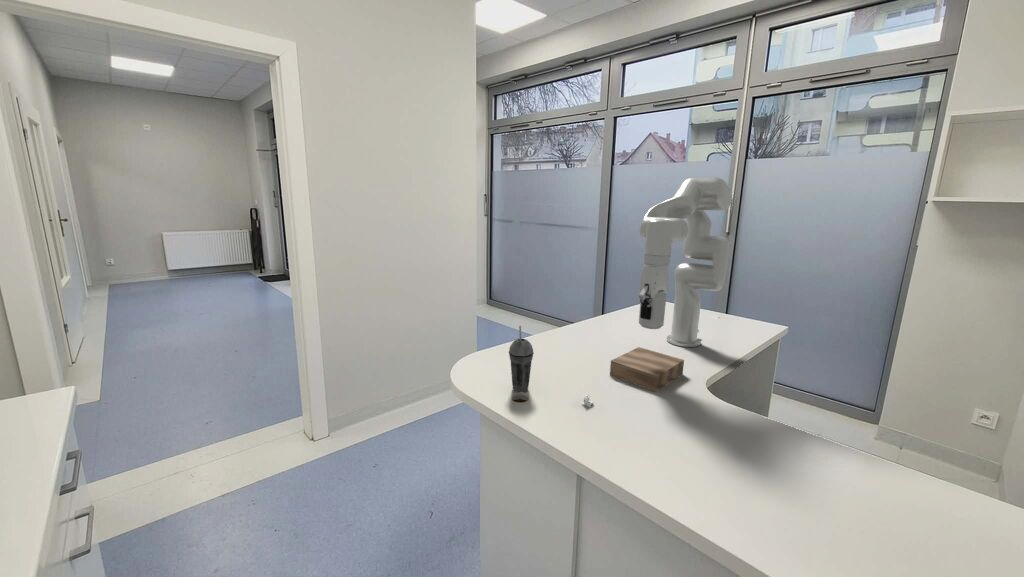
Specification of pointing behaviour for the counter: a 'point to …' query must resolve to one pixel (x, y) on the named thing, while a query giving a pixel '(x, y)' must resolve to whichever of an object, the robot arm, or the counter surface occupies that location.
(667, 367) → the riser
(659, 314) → the can
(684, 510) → the counter surface
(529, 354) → the beverage cup
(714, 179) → the robot arm
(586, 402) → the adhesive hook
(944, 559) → the counter surface
